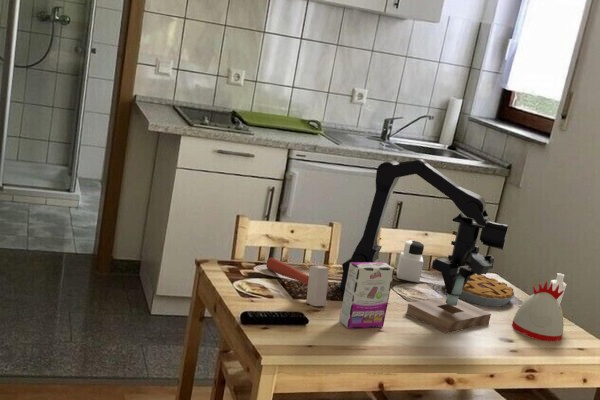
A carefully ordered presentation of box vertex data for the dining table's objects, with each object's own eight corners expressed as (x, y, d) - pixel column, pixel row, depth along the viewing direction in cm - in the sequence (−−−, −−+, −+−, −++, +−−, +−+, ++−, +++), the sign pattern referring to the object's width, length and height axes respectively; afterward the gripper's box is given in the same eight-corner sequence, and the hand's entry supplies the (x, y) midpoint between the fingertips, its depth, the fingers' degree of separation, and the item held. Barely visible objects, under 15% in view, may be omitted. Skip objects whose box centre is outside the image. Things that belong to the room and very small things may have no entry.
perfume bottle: (556, 321, 229) (569, 274, 226) (556, 325, 225) (569, 278, 221) (540, 317, 230) (553, 270, 227) (540, 321, 226) (552, 273, 223)
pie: (429, 287, 240) (432, 272, 239) (467, 280, 256) (471, 266, 255) (487, 313, 226) (491, 297, 225) (525, 304, 241) (528, 289, 240)
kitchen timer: (560, 346, 209) (574, 295, 205) (510, 331, 213) (522, 281, 210) (562, 330, 221) (575, 282, 218) (514, 317, 226) (526, 269, 222)
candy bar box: (373, 320, 202) (385, 261, 199) (383, 327, 198) (396, 268, 195) (337, 321, 197) (349, 261, 193) (347, 329, 193) (359, 267, 189)
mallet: (266, 248, 228) (319, 268, 202) (276, 248, 230) (330, 268, 204) (263, 283, 229) (315, 307, 203) (273, 283, 230) (326, 307, 205)
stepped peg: (452, 307, 210) (459, 279, 208) (440, 301, 213) (447, 274, 211) (461, 305, 213) (468, 278, 211) (449, 299, 216) (455, 273, 214)
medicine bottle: (417, 276, 249) (425, 241, 246) (419, 283, 242) (427, 247, 239) (396, 272, 249) (403, 237, 247) (396, 278, 242) (404, 242, 240)
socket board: (446, 333, 202) (448, 323, 201) (406, 313, 212) (408, 303, 211) (488, 323, 216) (491, 313, 215) (449, 305, 226) (451, 295, 225)
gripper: (470, 252, 197) (457, 308, 200) (509, 247, 210) (496, 300, 213) (436, 238, 205) (424, 292, 208) (476, 235, 217) (464, 286, 221)
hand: (453, 293), depth 212 cm, fingers closed on stepped peg, 4 cm apart
